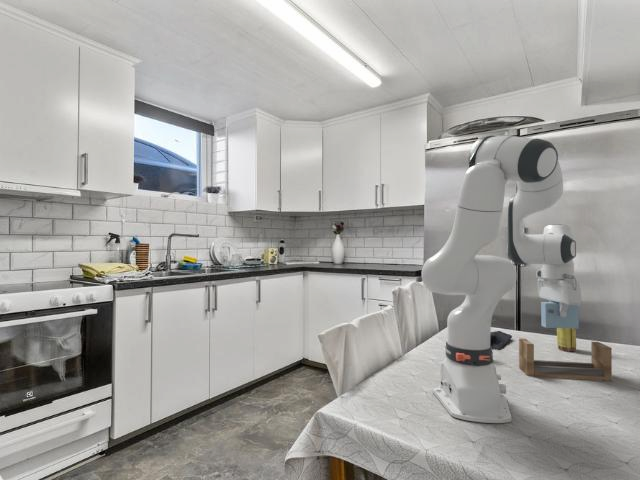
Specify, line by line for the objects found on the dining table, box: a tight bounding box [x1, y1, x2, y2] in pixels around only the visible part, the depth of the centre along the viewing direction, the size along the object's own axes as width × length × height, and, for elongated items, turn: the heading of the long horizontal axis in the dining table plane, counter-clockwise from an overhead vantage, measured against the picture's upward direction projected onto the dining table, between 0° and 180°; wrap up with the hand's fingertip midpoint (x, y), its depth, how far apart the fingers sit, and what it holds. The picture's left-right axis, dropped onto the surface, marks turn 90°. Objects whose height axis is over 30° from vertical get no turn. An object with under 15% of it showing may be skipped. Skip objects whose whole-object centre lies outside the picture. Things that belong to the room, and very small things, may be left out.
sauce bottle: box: [556, 328, 577, 353], centre depth 142 cm, size 7×6×20 cm
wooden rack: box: [518, 337, 613, 382], centre depth 116 cm, size 8×24×10 cm, turn 80°
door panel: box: [540, 301, 580, 330], centre depth 119 cm, size 4×10×8 cm, turn 83°
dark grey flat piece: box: [490, 330, 513, 351], centre depth 154 cm, size 15×22×5 cm
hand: (558, 315), depth 119 cm, fingers closed on door panel, 3 cm apart
